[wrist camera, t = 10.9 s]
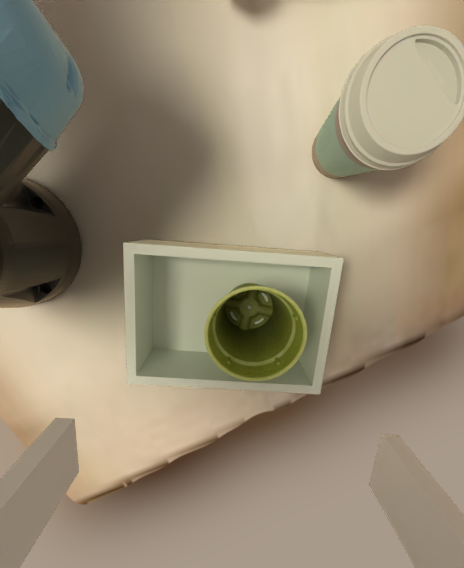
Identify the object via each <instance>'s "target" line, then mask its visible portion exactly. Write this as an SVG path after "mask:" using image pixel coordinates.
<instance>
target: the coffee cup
mask: <svg viewBox="0 0 464 568" xmlns="http://www.w3.org/2000/svg"><path fill="white" fill-rule="evenodd" d="M463 117H464V46H463V44H462V43H461V42H460V41H459V40H458V38H457V37H455V36H454V35H453V34H452V33H450V32H449V31H447V30H445V29H442V28H440V27H436V26H430V25H421V26H415V27H411V28H408V29H405V30H403V31H401V32H399V33H397V34H395V35H393V36H391V37H389V38H387V39H385V40H383V41H381V42H380V43H378V44H377V45H376V46H374V47H373V48H372V49H371V50H370V51H368V52H367V53H366V54H365V55H364V56H363V57H362V58H361V59H360V60H359V61H358V62H357V63H356V65H355V66H354V67H353V69H352V70H351V72H350V74H349V75H348V77H347V79H346V82H345V84H344V87H343V90H342V93H341V96H340V98H339V100H338V101H337V103H336V105H335V106H334V108H333V110H332V111H331V113H330V114H329V116H328V118H327V119H326V121H325V123H324V124H323V126H322V128H321V129H320V131H319V133H318V135H317V136H316V138H315V140H314V143H313V147H312V158H313V162H314V164H315V166H316V168H317V169H318V171H319V172H321V173H322V174H323V175H325V176H327V177H331V178H340V177H345V176H350V175H355V174H360V173H365V172H370V171H375V170H380V169H381V170H397V169H402V168H405V167H408V166H411V165H413V164H415V163H417V162H419V161H420V160H422V159H423V158H425V157H427V156H428V155H429V154H431V153H432V152H433V151H435V150H436V149H437V148H438V147H439V146H440V145H441V144H442V142H443V141H445V140H446V139H447V138H448V137H449V136H450V135H451V134H452V133H453V132H454V130H455V129H456V128H457V126H458V125H459V124H460V122H461V120H462V119H463Z"/></svg>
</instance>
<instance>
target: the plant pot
mask: <svg viewBox="0 0 464 568" xmlns="http://www.w3.org/2000/svg"><path fill="white" fill-rule="evenodd" d="M261 293H264V294H265V295H266V296H267V298H268V301H267V302H266V300H265V298H264V296H263V295H262V294H261ZM236 294H237V295H236ZM249 305H250V306H251V309H248V308H247V307H248V306H249ZM230 312H233V314H234V316H235V317H236V318H237V321H236V320H234V319H233V318H232V316H231V314H230ZM262 318H264V319H263V321H262V322H260V323H259V324H255V322H257V321H259V320H261V319H262ZM204 340H205V345H206V349H207V351H208V353H209V355H210V357H211V358H212V360H213V361H214V362H215V364H216V365H217V366H218V367H219V368H220V369H221V370H223V371H224V372H226V373H227V374H229V375H231V376H233V377H235V378H238V379H242V380H246V381H265V380H269V379H273V378H276V377H278V376H280V375H282V374H283V373H285V372H286V371H288V370H289V369H290V368H291V367H292V366H293V365H294V364H295V363H296V362H297V361H298V359H299V358H300V356H301V354H302V353H303V350H304V348H305V344H306V340H307V325H306V321H305V318H304V315H303V313H302V311H301V309H300V308H299V307H298V305H297V304H296V303H295V302H294V301H293V300H292V299H291V298H290V297H288V296H287V295H286V294H284V293H282V292H280V291H279V290H276V289H273V288H270V287H265V286H260V285H258V284H253V283H245V284H241V285H239V286H237V287H235V288H234V289H233V290H232V291H231V292H230V293H228V294H227V295H225V296H224V297H223V298H221V299H220V300H219V301H218V302H217V303H216V304H215V306H214V307H213V308H212V310H211V311H210V313H209V315H208V318H207V320H206V324H205V329H204Z"/></svg>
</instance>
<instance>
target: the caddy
mask: <svg viewBox="0 0 464 568" xmlns="http://www.w3.org/2000/svg"><path fill="white" fill-rule="evenodd" d="M123 258H124V295H125V332H126V369H127V384H140V385H158V386H177V387H195V388H213V389H231V390H249V391H267V392H285V393H303V394H320V392H321V387H322V381H323V375H324V369H325V364H326V358H327V352H328V346H329V341H330V335H331V329H332V323H333V318H334V312H335V306H336V300H337V295H338V289H339V283H340V277H341V271H342V266H343V260H344V258H341V257H337V256H333V255H329V254H325V253H321V252H317V251H303V250H289V249H275V248H261V247H247V246H233V245H219V244H205V243H191V242H177V241H163V240H149V239H147V240H139V241H131V242H123ZM245 283H253V284H258V285H260V286H265V287H270V288H273V289H276V290H279V291H280V292H282V293H284V294H286V295H287V296H288V297H290V298H291V299H292V300H293V301H294V302H295V303H296V304H297V305H298V307H299V308H300V309H301V311H302V313H303V315H304V318H305V321H306V325H307V340H306V344H305V348H304V350H303V353H302V354H301V356H300V358H299V359H298V361H297V362H296V363H295V364H294V365H293V366H292V367H291V368H290V369H289V370H288V371H286V372H285V373H283V374H282V375H280V376H278V377H276V378H273V379H269V380H265V381H246V380H242V379H238V378H235V377H233V376H231V375H229V374H227V373H226V372H224V371H223V370H221V369H220V368H219V367H218V366H217V365H216V364H215V362H214V361H213V360H212V358H211V357H210V355H209V353H208V351H207V349H206V345H205V340H204V329H205V324H206V320H207V318H208V315H209V313H210V311H211V310H212V308H213V307H214V306H215V304H216V303H217V302H218V301H219V300H220V299H221V298H223V297H224V296H225V295H227V294H228V293H230V292H231V291H232V290H233V289H234V288H235V287H237V286H239V285H241V284H245ZM261 294H262V295H263V296H264V298H265V300H266V302H267V301H268V298H267V296H266V295H265V294H264V293H261ZM236 295H237V294H236ZM247 308H248V309H251V306H250V305H249V306H248V307H247ZM230 314H231V316H232V318H233V319H234V320H236V321H237V318H236V317H235V316H234V314H233V312H230ZM263 319H264V318H262V319H261V320H259V321H257V322H255V324H259V323H260V322H262V321H263Z"/></svg>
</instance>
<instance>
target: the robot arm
mask: <svg viewBox="0 0 464 568" xmlns="http://www.w3.org/2000/svg"><path fill="white" fill-rule="evenodd" d="M83 98H84V84H83V79H82V75H81V72H80V70H79V68H78V66H77V64H76V62H75V60H74V58H73V57H72V55H71V54H70V52H69V51H68V49H67V48H66V46H65V45H64V43H63V42H62V41H61V39H60V38H59V36H58V35H57V33H56V32H55V31H54V29H53V28H52V26H51V25H50V24H49V22H48V21H47V20H46V18H45V17H44V15H43V14H42V13H41V11H40V10H39V9H38V7H37V6H36V4H35V3H34V2H33V0H0V308H18V307H26V306H31V305H35V304H38V303H41V302H43V301H46V300H48V299H51V298H53V297H55V296H57V295H59V294H60V293H62V292H63V291H64V290H65V289H66V288H67V287H68V286H69V285H70V284H71V283H72V281H73V280H74V278H75V276H76V274H77V272H78V269H79V266H80V261H81V241H80V236H79V232H78V229H77V227H76V224H75V222H74V220H73V218H72V216H71V214H70V213H69V211H68V210H67V209H66V207H65V206H64V205H63V204H62V202H61V201H60V200H59V199H58V198H57V197H56V196H54V195H53V194H52V193H51V192H50V191H48V190H47V189H45V188H44V187H42V186H40V185H39V184H37V183H35V182H32V181H30V180H27V179H24V178H25V177H26V176H27V174H28V173H29V172H30V171H31V170H32V169H33V167H34V166H35V165H36V164H37V163H38V162H39V161H40V159H41V158H42V157H43V156H44V155H45V154H46V153H47V152H48V150H49V151H51V152H52V151H53V150H54V149H55V147H56V146H57V144H56V140H57V139H58V137H59V136H60V135H61V133H62V132H63V130H64V129H65V127H66V126H67V125H68V123H69V122H70V120H71V119H72V118H73V116H74V115H75V113H76V112H77V111H78V109H79V108H80V106H81V104H82V102H83ZM78 472H79V466H78V454H77V442H76V431H75V419H68V418H55V419H54V420H53V422H52V423H51V424H50V425H49V426H48V427H47V428H46V429H45V430H44V431H43V433H42V434H41V435H40V436H39V437H38V438H37V439H36V440H35V441H34V442H33V443H32V445H31V446H30V447H29V448H28V449H27V450H26V451H25V452H24V453H23V455H22V456H21V457H20V458H19V459H18V460H17V461H16V462H15V463H14V464H13V465H12V466H11V468H10V469H9V470H8V471H7V472H6V473H5V474H4V475H3V476H2V478H1V479H0V568H20V566H21V565H22V563H23V562H24V560H25V558H26V557H27V555H28V553H29V552H30V550H31V548H32V547H33V545H34V544H35V542H36V540H37V539H38V537H39V536H40V534H41V532H42V531H43V529H44V527H45V526H46V524H47V522H48V521H49V519H50V518H51V516H52V514H53V513H54V511H55V510H56V508H57V506H58V504H59V503H60V502H61V500H62V498H63V497H64V495H65V493H66V492H67V490H68V489H69V487H70V485H71V484H72V482H73V480H74V479H75V477H76V476H77V474H78ZM369 485H370V487H371V489H372V491H373V493H374V494H375V496H376V498H377V500H378V502H379V503H380V505H381V507H382V509H383V511H384V513H385V514H386V516H387V518H388V520H389V522H390V524H391V525H392V527H393V529H394V531H395V533H396V534H397V536H398V538H399V540H400V541H401V544H402V545H403V547H404V549H405V551H406V553H407V555H408V556H409V558H410V560H411V562H412V564H413V565H414V567H415V568H464V514H463V513H462V511H461V510H460V509H459V508H458V506H457V505H456V504H455V503H454V502H453V500H452V499H451V498H450V497H449V496H448V494H447V493H446V492H445V491H444V490H443V488H442V487H441V486H440V485H439V483H438V482H437V481H436V480H435V479H434V477H433V476H432V475H431V474H430V473H429V471H428V470H427V469H426V468H425V466H424V465H423V464H422V463H421V462H420V461H419V459H418V458H417V457H416V456H415V454H414V453H413V452H412V451H411V450H410V448H409V447H408V446H407V445H406V443H405V442H404V441H403V440H402V439H401V437H400V436H399V435H389V434H381V438H380V442H379V446H378V450H377V454H376V458H375V462H374V466H373V470H372V474H371V478H370V482H369Z"/></svg>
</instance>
